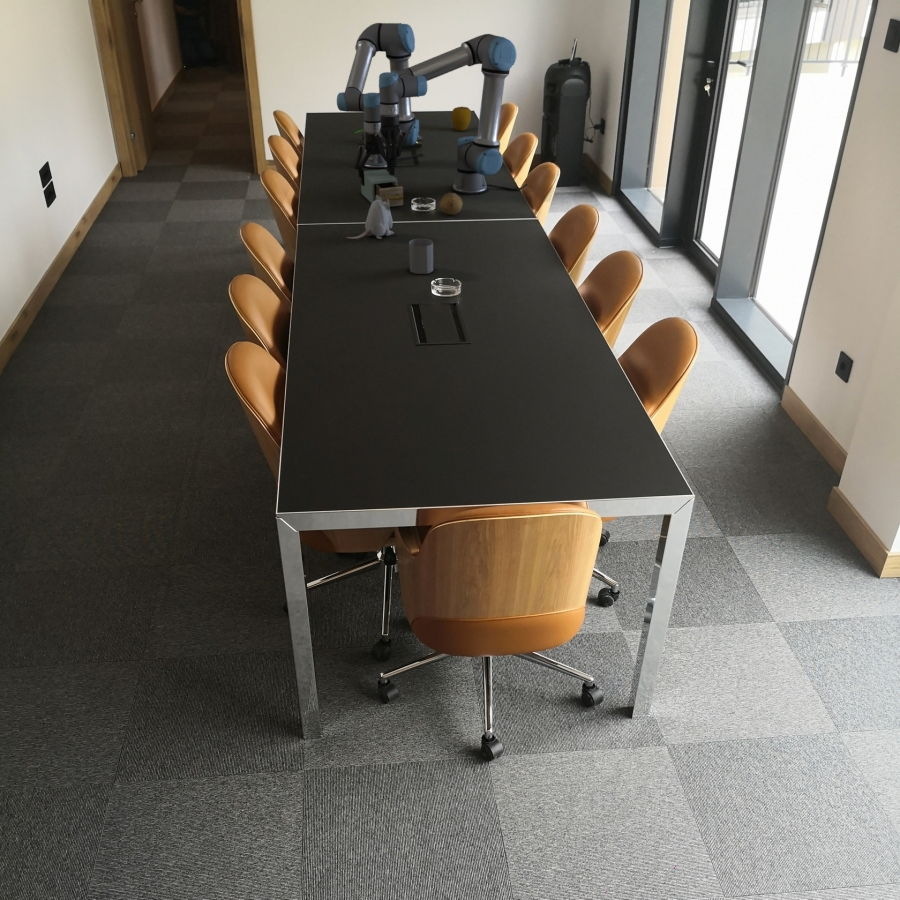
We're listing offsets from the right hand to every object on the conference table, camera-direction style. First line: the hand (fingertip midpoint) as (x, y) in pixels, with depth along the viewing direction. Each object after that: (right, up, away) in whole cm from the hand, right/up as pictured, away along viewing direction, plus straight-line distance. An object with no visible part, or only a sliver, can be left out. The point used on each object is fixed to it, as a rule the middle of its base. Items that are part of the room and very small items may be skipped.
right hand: (391, 174), depth 359 cm
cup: (+14, -50, -51) cm, 73 cm away
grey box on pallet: (-7, -3, +23) cm, 24 cm away
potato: (+25, -15, +3) cm, 29 cm away
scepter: (-13, +51, +108) cm, 120 cm away
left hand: (-8, +4, +24) cm, 26 cm away
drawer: (-2, -8, +13) cm, 15 cm away
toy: (-7, -33, -23) cm, 41 cm away
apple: (+31, +67, +132) cm, 151 cm away
